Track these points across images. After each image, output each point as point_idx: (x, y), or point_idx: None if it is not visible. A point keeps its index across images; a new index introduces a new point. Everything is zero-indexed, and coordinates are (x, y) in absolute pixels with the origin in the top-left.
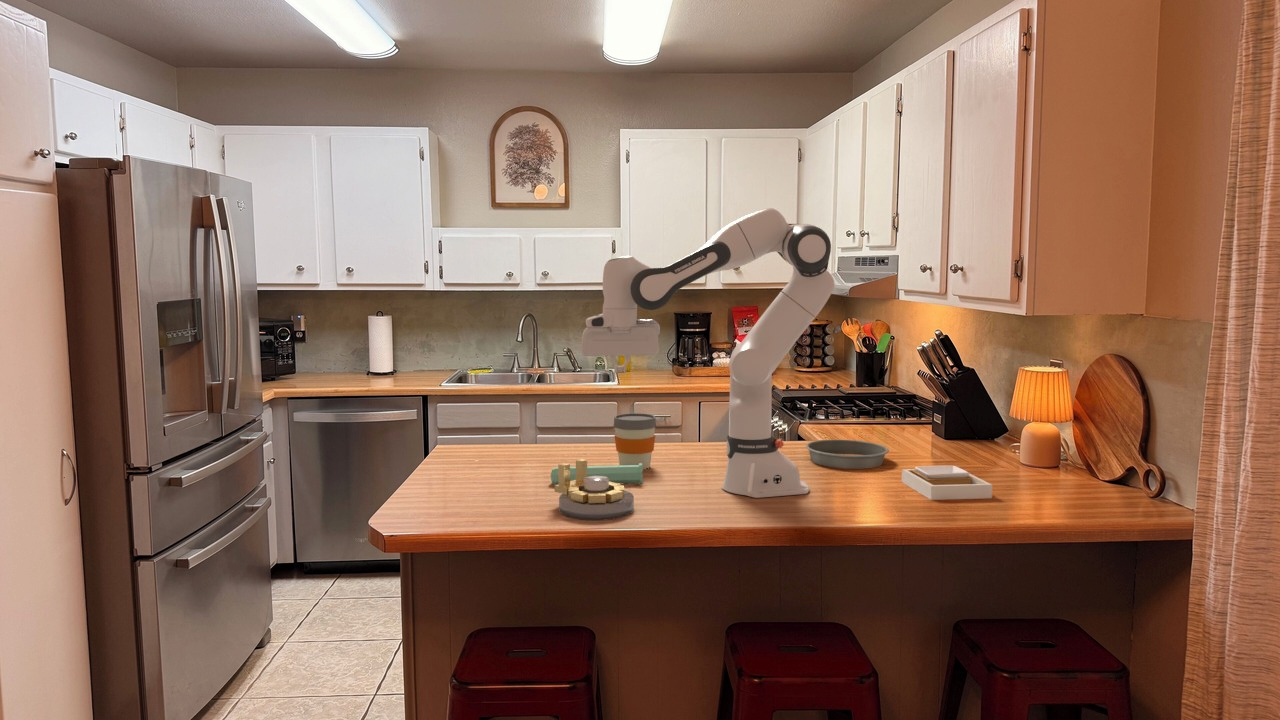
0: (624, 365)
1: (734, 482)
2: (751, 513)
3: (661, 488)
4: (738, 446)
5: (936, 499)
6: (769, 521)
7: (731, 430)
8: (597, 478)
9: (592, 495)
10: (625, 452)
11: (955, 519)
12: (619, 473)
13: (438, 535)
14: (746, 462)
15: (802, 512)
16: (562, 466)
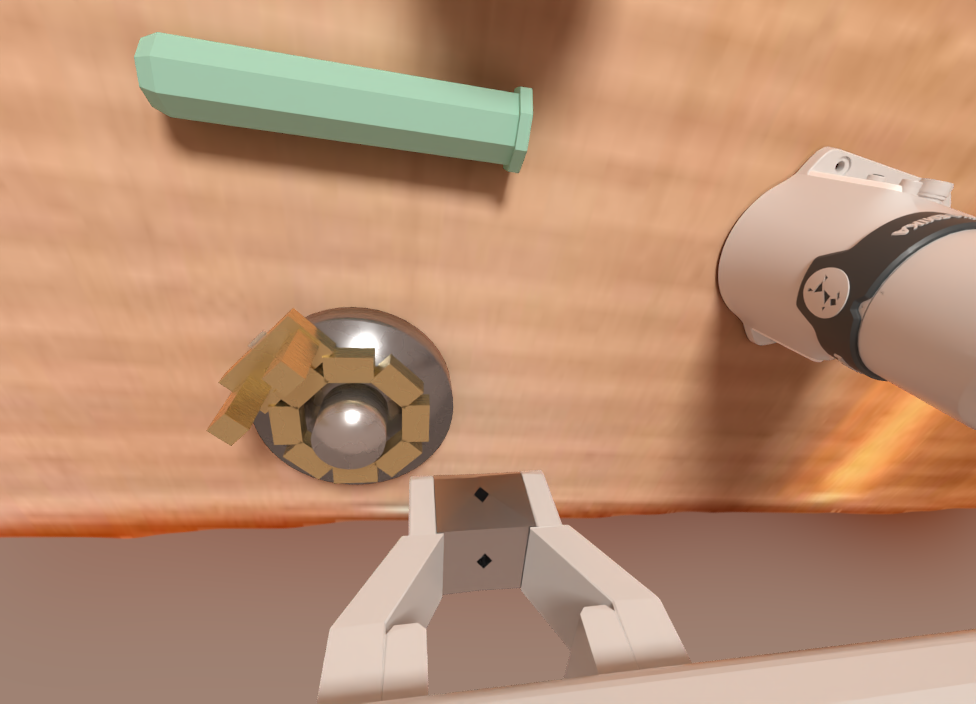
0: (536, 597)
1: (746, 304)
2: (683, 437)
3: (560, 213)
4: (836, 355)
5: None
6: (689, 479)
7: (883, 342)
8: (352, 438)
9: (344, 481)
10: None
11: (964, 479)
12: (435, 154)
13: (16, 536)
14: (810, 349)
15: (776, 436)
16: (226, 439)
